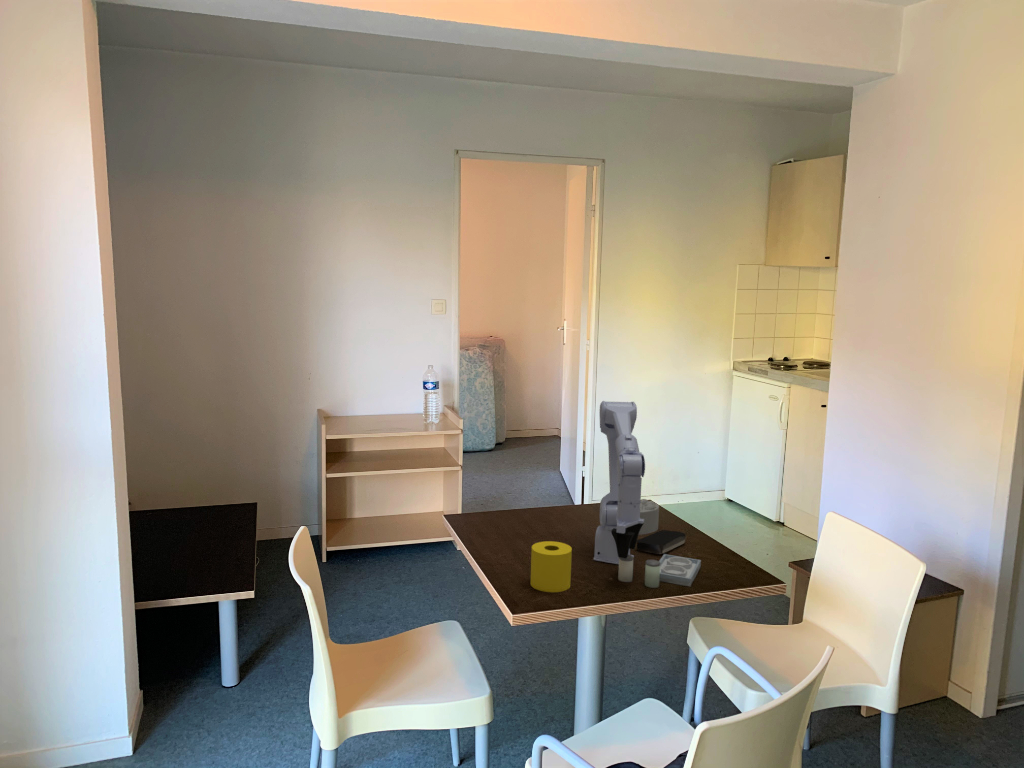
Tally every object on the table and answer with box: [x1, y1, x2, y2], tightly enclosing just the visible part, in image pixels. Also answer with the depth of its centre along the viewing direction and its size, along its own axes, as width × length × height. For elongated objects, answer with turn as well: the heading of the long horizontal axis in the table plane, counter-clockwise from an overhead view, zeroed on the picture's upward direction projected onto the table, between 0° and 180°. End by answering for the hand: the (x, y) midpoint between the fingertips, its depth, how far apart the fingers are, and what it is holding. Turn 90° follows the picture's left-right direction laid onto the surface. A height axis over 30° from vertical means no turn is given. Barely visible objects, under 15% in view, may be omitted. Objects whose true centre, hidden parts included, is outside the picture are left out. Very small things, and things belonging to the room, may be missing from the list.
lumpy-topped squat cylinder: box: [638, 498, 660, 536], centre depth 235 cm, size 10×13×9 cm
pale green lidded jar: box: [644, 559, 660, 589], centre depth 189 cm, size 4×4×6 cm
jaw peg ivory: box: [617, 554, 634, 583], centre depth 193 cm, size 4×4×6 cm
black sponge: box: [636, 529, 686, 555], centre depth 218 cm, size 16×8×4 cm, turn 139°
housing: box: [658, 553, 702, 587], centre depth 198 cm, size 10×15×2 cm, turn 156°
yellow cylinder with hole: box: [529, 540, 573, 593], centre depth 188 cm, size 10×10×9 cm
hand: (626, 552), depth 192 cm, fingers open, 7 cm apart
